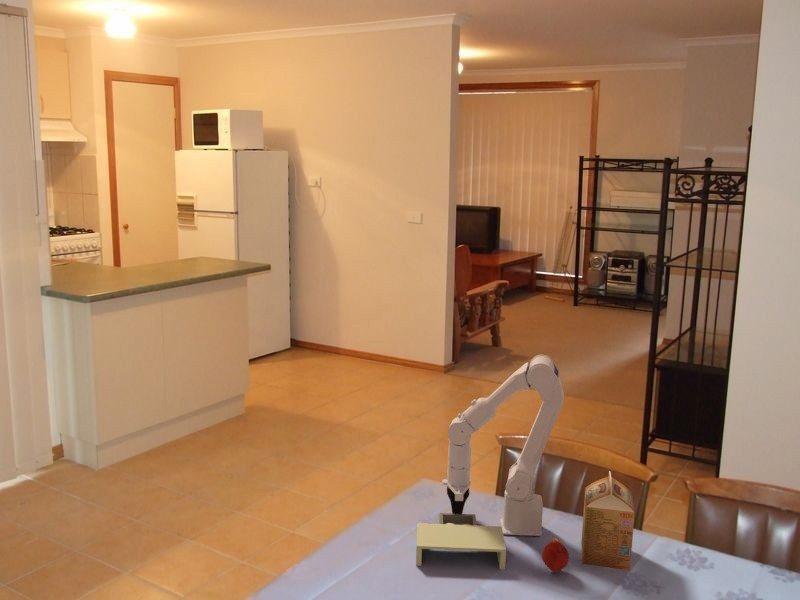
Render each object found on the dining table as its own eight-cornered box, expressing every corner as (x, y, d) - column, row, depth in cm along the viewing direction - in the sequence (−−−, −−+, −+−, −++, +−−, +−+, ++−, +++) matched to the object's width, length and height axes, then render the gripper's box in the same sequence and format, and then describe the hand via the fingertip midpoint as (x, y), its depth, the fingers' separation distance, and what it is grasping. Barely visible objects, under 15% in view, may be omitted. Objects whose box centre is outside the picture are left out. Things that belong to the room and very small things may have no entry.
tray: (474, 524, 193) (475, 512, 193) (477, 545, 183) (478, 533, 182) (439, 522, 194) (439, 511, 193) (439, 543, 183) (440, 532, 182)
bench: (500, 545, 183) (501, 526, 182) (505, 569, 172) (506, 549, 171) (416, 541, 183) (417, 523, 182) (415, 565, 172) (416, 545, 172)
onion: (569, 567, 173) (571, 535, 172) (565, 580, 168) (568, 546, 166) (543, 562, 175) (545, 530, 174) (539, 575, 170) (541, 541, 168)
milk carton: (629, 570, 173) (636, 491, 169) (581, 564, 175) (587, 486, 171) (626, 548, 183) (633, 473, 179) (581, 542, 185) (586, 468, 182)
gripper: (442, 453, 199) (440, 502, 201) (443, 475, 185) (441, 528, 187) (469, 454, 199) (467, 503, 201) (472, 477, 185) (470, 529, 187)
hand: (457, 515), depth 194 cm, fingers closed
